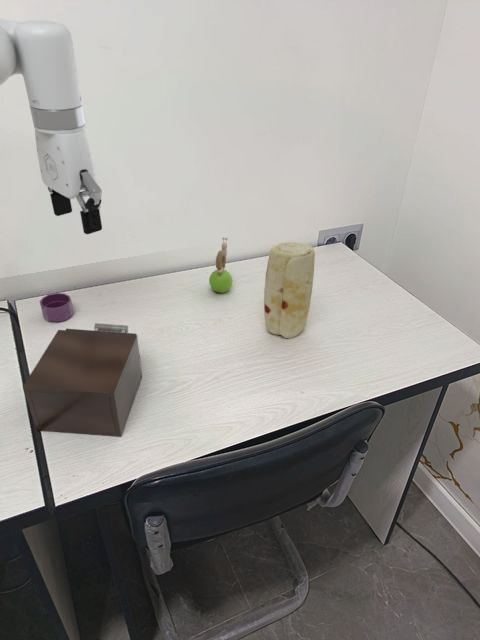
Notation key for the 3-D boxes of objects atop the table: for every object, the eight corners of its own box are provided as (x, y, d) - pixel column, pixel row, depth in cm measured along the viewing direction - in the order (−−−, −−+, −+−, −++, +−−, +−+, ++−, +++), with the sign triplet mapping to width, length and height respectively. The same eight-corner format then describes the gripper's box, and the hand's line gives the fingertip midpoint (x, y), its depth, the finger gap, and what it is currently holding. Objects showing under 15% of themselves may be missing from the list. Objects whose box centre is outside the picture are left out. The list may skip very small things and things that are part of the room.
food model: (302, 321, 109) (313, 236, 96) (310, 339, 104) (323, 252, 91) (258, 324, 107) (264, 238, 94) (265, 342, 102) (272, 254, 89)
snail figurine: (235, 284, 119) (236, 238, 112) (229, 298, 114) (230, 251, 107) (213, 281, 120) (213, 235, 112) (206, 295, 115) (206, 247, 107)
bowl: (39, 322, 102) (35, 307, 100) (49, 306, 107) (46, 292, 105) (67, 324, 102) (64, 309, 100) (77, 308, 107) (74, 294, 105)
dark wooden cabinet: (68, 371, 91) (58, 329, 85) (142, 377, 91) (137, 335, 85) (36, 430, 79) (22, 386, 74) (121, 436, 80) (113, 393, 74)
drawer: (83, 343, 96) (77, 310, 91) (147, 348, 96) (143, 315, 91) (46, 414, 81) (35, 379, 76) (121, 420, 81) (115, 384, 76)
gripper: (8, 109, 78) (33, 212, 89) (65, 134, 69) (85, 246, 80) (53, 103, 83) (71, 202, 93) (111, 126, 74) (124, 233, 84)
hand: (78, 222), depth 87 cm, fingers open, 9 cm apart
